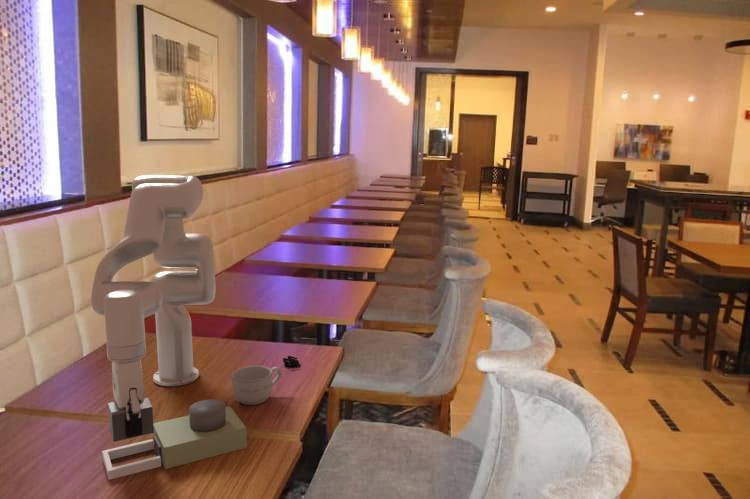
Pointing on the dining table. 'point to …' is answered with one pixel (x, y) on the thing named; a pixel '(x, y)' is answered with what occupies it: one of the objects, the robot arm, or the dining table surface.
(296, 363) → the wireless earbuds
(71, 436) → the dining table surface
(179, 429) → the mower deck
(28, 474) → the dining table surface
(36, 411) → the dining table surface
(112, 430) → the grey block
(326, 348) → the dining table surface
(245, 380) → the teacup
